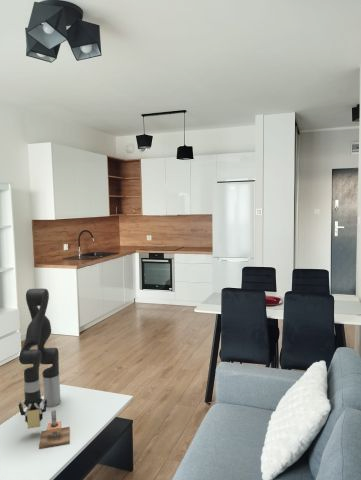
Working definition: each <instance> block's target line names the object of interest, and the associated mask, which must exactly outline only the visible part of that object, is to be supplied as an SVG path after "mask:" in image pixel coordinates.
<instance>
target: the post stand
mask: <svg viewBox="0 0 361 480" xmlns="http://www.w3.org/2000/svg"><path fill="white" fill-rule="evenodd" d="M50 415H51V423H52V427H58V426H57V423H56V422H57V410H51V413H50ZM52 427H51V428H52ZM70 430H71V429H70V426H66V427H61V431H56V432H49V433H47V429H46V430H41V431H40V436H39V444H38V449H40V450H41V449H47V448H53V447H59V446H64V445H70V442H71V440H70Z"/></svg>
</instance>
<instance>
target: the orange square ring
mask: <svg viewBox="0 0 361 480" xmlns="http://www.w3.org/2000/svg"><path fill="white" fill-rule="evenodd" d="M56 423H57V427H52V422H48V423H47V429H46V430H47V433H49V432H56V431H61V428H62V420H61V421H60V420H59V421H56Z"/></svg>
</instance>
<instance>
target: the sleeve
mask: <svg viewBox="0 0 361 480" xmlns="http://www.w3.org/2000/svg"><path fill="white" fill-rule="evenodd" d="M26 410H27V409H26ZM27 420H28V423H27V429H35V428H40V427H41V422H42V420H41V421H40V413H39V408H38V409H31V410H27Z"/></svg>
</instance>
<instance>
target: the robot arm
mask: <svg viewBox="0 0 361 480" xmlns="http://www.w3.org/2000/svg"><path fill="white" fill-rule="evenodd" d="M49 300H50V294H49V290H48V289H47V288H29V289H27V291H26V294H25V301H26V304H27V308H28V311H29V314H30V317H31V321H30V323H28V326H27V328H26V334H25V340H24V343H23V346H22V348H21V350H20V353H19V355H18V362H19V363H20V364H21V365H32V366H30V367H27V368H26V369H24V371H23V378H24V381H23V382H24V383H23V386H24V387H23V390H24V401H23V402H21V401H20V402H18V409H19V413H20V415H21V416H24V418H25V420H24V421H25V422H26V424H28V420H27V410H31V409H38V408H39V413H40V421H41V422H42V420H43V418H44V413H45V412H46V411H47V407H48V408H49V407H52V408H53V407H56V406H58V405H60V404H61V387H60V385H61V384H60V366H59V365H60V364H59V363H60V361H59V360H60V359H59V357H60V356H59V353H60V352H59V349H58V348H57V347H45V345H46V342H47V341H48V340H49V338H50V336H51V334H52V324H51V322H50V319H49V318H48V317H47V315H46V312H47V309H48V304H49ZM35 346H36V348H37V349H31V348H32V347H35ZM41 365H51V366H50V367H46V368H45V369H44V370H43V371H42V373H41V374H42V386H43V387H42V389H43V390H42V391H43V398H42V397H41V396H42V395H41V382H40V366H41ZM41 403H42V405H43V408H42V406H41ZM24 406H25V407H26V410H25V411H24Z"/></svg>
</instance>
